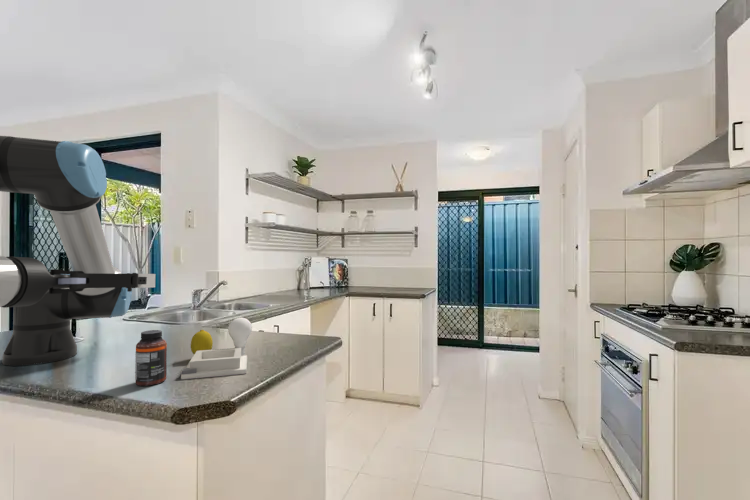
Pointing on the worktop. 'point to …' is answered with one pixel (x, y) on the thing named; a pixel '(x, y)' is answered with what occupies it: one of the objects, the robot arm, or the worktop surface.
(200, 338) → the lemon
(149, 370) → the supplement bottle
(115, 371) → the worktop surface
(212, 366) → the socket
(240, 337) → the lightbulb
